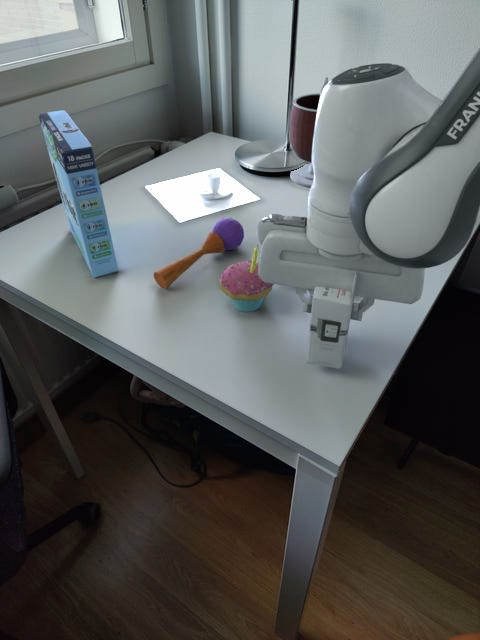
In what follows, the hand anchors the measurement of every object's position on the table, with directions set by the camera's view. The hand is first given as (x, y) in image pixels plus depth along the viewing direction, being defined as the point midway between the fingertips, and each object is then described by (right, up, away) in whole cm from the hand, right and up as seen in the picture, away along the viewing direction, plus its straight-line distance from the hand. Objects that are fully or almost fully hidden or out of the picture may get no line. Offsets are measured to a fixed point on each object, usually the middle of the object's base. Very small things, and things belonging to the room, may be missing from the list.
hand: (332, 313), depth 62 cm
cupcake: (-11, +2, +14) cm, 18 cm away
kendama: (-19, +9, +23) cm, 32 cm away
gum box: (-41, +13, +27) cm, 51 cm away
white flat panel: (-22, +28, +45) cm, 57 cm away
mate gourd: (+6, +34, +51) cm, 62 cm away
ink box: (0, -5, +4) cm, 6 cm away
